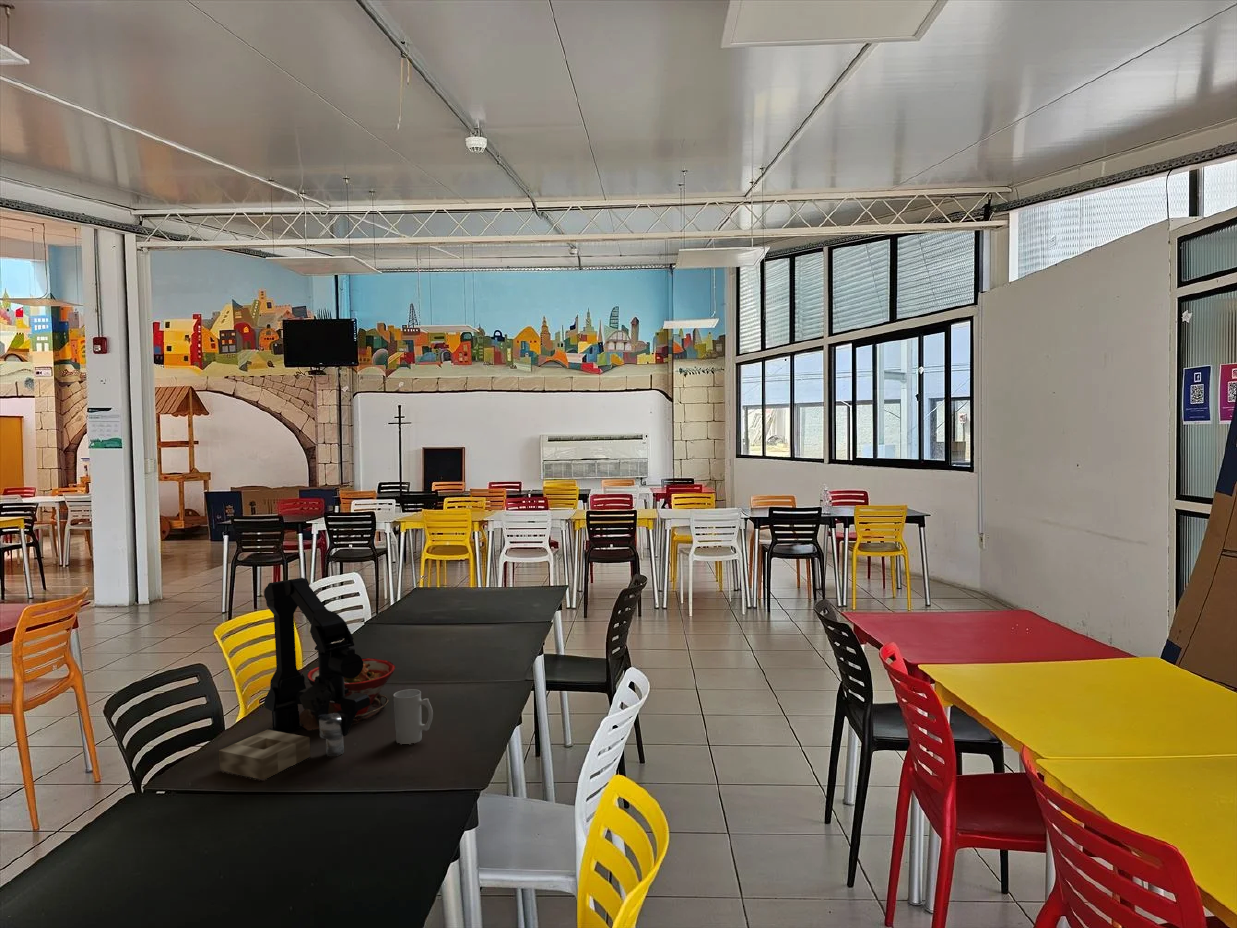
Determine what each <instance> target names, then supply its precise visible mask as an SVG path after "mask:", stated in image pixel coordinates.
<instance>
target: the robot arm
mask: <svg viewBox="0 0 1237 928" xmlns="http://www.w3.org/2000/svg"><path fill="white" fill-rule="evenodd" d="M263 595H264V596H263V597H264V600H265V603H266V607H267V608H268V609H269V610H270V612H271V613H272V615H273V624H274V627H273V628H274V645H275V665H276V668H275V669H276V670H275V672H274V673H273V675H272V677H271V679H270V684H269V685H270V686H269V687H270V688H269V690H268V692H267V694H266V696H265V698H264V701H263V702H264V707H265V709H266V710H269V711H270V712H271V718H272V722H271V723H272V726H271V727H269V728H267V730H273V731H278V732H284V733H288V732H289V733H290V732H291V733H292V732H293V731H295V730H297V729H299V728H303V727H302V726H303V725H304V724H302V723H300V710H299V705H302V708H303V710H305V709H309V710H311V711H312V712H313V714H314V716H315V718H316V721H317V723H318V725H319V719H320V718H321V717H322V716H324V715H327V714H328V710H329V702H331V703H337V704H341V710H339V711H337V713H338V714H339V715H340V716H341V724H342V733H343V737H346V736H347V735H348V734H349V731H350V730H351V727H352V725H353V724H352V722H353V720H354V719H355V718H356V717H355V716H356V714H357V712H358V711H359V710H361V709H363V708H365V707H367V706H369V705H370V697H369V696H368V695H367V694H362V693H354V694H352V695H349V696H345V694H347V693H349V691H348V689H347V688H345V685H344V678H345V677H346V678H349V679H351V678H355V677H357V676H358V675H359V674H360V673H361V671H362V669H363V661H362V659H363V658H362V657H361V655H359V654H357V653H356V651H355V648H353V647H354V646H355V642H354V639H355V638H354V636H353V635H352V633H351V631H350V629H349V626H348V625H347V622H346V621H345V620H344V618H343V617H342V616H340V615H339V614H338V613H337V612H334V611H332V610H329V609H327V607H326V605H324V603H323V601H321V599H320V598H319V596H318V595H317V594H316V593H315V591H314V590H313V589H312V587H311V586H310V583H309V580H308V578H306V577H298V578H292V579H287V580H286V579H284V580H278V581H273V582H272V581H271V582H269V583H268V584H267V586H266V587H265V588H264V590H263ZM298 608H299V610H300V611H301V612H302V614H303V616H304V617H305V618H306V620H307V621H308V622H309V624H310V628H309V629H310V630H309V634H310V635H311V637H312V640H313V642H314V643H315V645H316V646H315V647H314V651H317V655H318V656H317V659H318V667H319V676H316V677H315V683H314V685H313V686H312V685H311V686H309V687H307V686H306V684H305V682H306V681H305V680H306V679H305V676H304V674H302V673H301V672H300V671H299V670H298V669H297V654H296V652H297V651H296V631H295V618H294V617H295V615H294V614H295V613H296V610H297V609H298ZM370 706H371V705H370ZM370 706H369V707H370Z"/></svg>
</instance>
